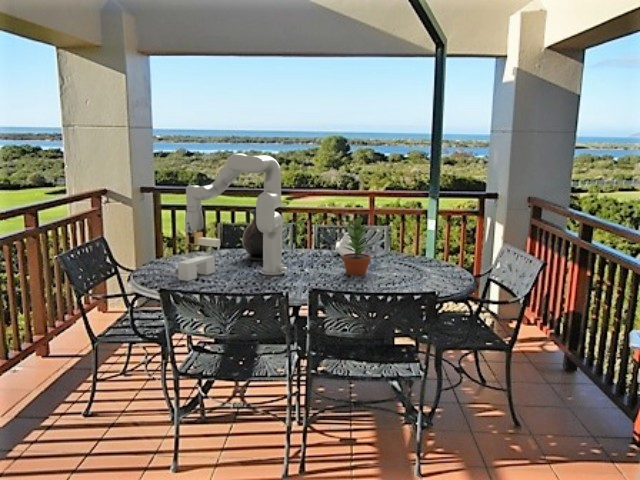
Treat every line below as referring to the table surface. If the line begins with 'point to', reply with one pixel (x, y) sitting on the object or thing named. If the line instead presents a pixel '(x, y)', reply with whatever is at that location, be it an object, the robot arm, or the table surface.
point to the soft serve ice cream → (344, 245)
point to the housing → (189, 269)
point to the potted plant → (356, 250)
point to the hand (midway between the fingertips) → (195, 242)
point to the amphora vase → (253, 240)
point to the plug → (203, 240)
